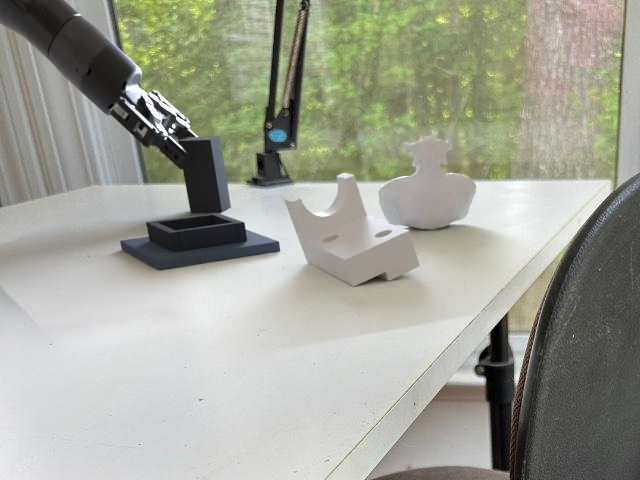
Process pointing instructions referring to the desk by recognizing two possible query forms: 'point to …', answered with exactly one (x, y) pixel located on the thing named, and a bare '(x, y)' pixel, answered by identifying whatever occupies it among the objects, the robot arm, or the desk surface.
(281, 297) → the desk surface
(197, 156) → the tall black rectangular peg
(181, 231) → the base pad
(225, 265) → the desk surface
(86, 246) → the desk surface
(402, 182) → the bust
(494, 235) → the desk surface
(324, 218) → the bracket
